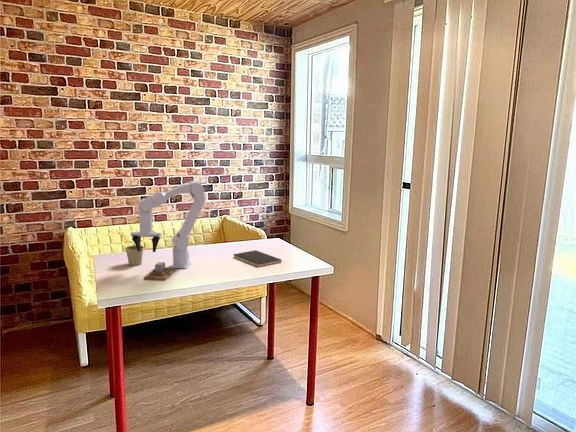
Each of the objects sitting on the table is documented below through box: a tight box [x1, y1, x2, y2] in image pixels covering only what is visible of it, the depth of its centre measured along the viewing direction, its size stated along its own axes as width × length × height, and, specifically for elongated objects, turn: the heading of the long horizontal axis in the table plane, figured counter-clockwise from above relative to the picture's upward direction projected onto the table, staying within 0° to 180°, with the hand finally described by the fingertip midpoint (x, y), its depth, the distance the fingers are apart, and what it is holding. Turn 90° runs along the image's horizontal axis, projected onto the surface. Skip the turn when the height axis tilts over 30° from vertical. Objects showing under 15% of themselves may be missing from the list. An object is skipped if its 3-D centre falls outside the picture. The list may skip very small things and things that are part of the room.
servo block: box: [154, 261, 166, 273], centre depth 195 cm, size 5×3×6 cm, turn 177°
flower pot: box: [124, 244, 145, 266], centre depth 211 cm, size 9×9×9 cm
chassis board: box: [143, 267, 176, 281], centre depth 195 cm, size 14×10×2 cm
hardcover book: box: [233, 250, 282, 268], centre depth 226 cm, size 16×23×2 cm
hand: (146, 251), depth 201 cm, fingers open, 7 cm apart
